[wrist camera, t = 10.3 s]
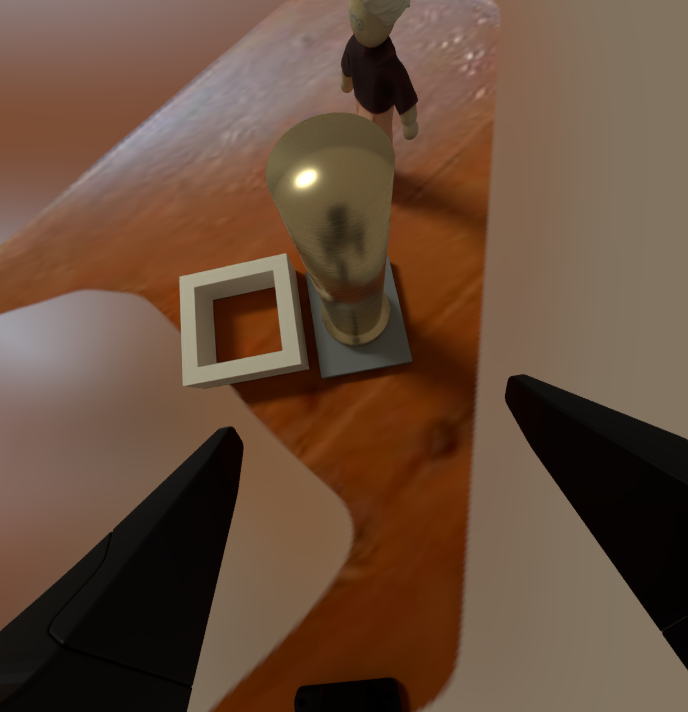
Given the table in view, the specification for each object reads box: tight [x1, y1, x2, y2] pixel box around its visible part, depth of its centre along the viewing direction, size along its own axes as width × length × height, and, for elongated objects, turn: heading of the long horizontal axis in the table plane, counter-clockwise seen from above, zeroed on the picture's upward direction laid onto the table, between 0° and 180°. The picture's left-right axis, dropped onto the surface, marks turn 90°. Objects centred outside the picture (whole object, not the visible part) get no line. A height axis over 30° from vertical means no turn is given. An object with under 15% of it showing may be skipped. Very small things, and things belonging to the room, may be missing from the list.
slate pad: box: [306, 255, 412, 379], centre depth 21 cm, size 9×7×1 cm
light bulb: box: [266, 113, 395, 347], centre depth 14 cm, size 5×5×13 cm
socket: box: [180, 253, 309, 389], centre depth 21 cm, size 9×9×2 cm
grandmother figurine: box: [340, 0, 419, 143], centre depth 18 cm, size 8×4×13 cm, turn 51°
